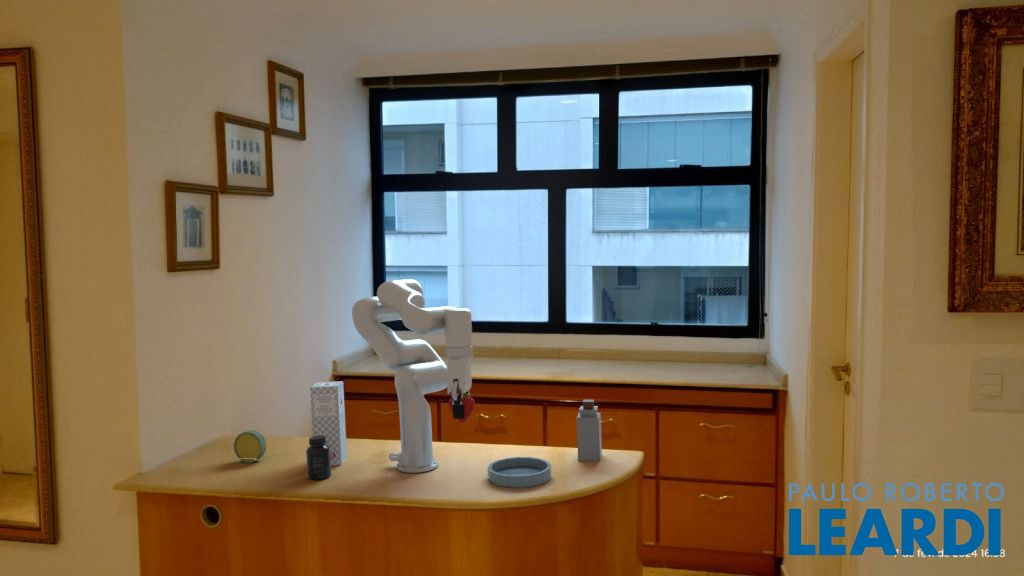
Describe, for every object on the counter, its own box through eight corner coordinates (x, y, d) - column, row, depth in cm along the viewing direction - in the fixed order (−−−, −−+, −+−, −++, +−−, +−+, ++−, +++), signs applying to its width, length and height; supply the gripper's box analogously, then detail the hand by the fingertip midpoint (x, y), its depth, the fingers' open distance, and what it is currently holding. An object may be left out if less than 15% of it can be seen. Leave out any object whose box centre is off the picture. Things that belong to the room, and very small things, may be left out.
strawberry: (452, 419, 205) (451, 385, 204) (478, 420, 203) (476, 385, 202) (446, 424, 199) (444, 389, 198) (472, 425, 197) (471, 389, 197)
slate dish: (482, 487, 198) (482, 475, 197) (495, 467, 215) (494, 456, 215) (547, 488, 195) (546, 476, 194) (554, 468, 212) (553, 457, 212)
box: (314, 466, 223) (310, 387, 222) (320, 458, 231) (316, 382, 230) (341, 465, 223) (337, 386, 222) (346, 457, 232) (343, 381, 230)
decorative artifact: (234, 462, 230) (232, 432, 230) (246, 456, 237) (244, 426, 237) (262, 463, 228) (261, 432, 228) (274, 456, 235) (272, 426, 235)
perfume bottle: (600, 461, 217) (598, 403, 216) (578, 460, 219) (576, 403, 218) (601, 455, 224) (600, 398, 223) (580, 454, 225) (578, 398, 224)
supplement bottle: (335, 474, 214) (333, 434, 213) (322, 481, 208) (320, 441, 207) (316, 472, 216) (314, 433, 216) (302, 479, 210) (300, 439, 209)
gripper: (454, 348, 209) (457, 408, 210) (437, 357, 192) (440, 423, 193) (479, 347, 208) (481, 408, 209) (464, 356, 191) (467, 423, 192)
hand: (462, 415), depth 201 cm, fingers closed on strawberry, 6 cm apart
